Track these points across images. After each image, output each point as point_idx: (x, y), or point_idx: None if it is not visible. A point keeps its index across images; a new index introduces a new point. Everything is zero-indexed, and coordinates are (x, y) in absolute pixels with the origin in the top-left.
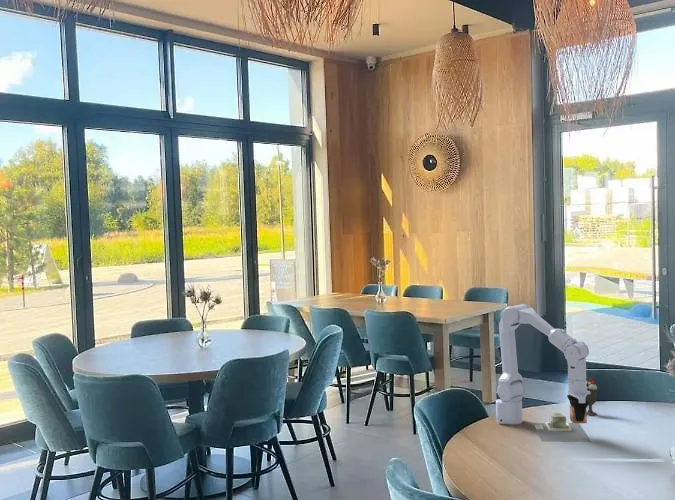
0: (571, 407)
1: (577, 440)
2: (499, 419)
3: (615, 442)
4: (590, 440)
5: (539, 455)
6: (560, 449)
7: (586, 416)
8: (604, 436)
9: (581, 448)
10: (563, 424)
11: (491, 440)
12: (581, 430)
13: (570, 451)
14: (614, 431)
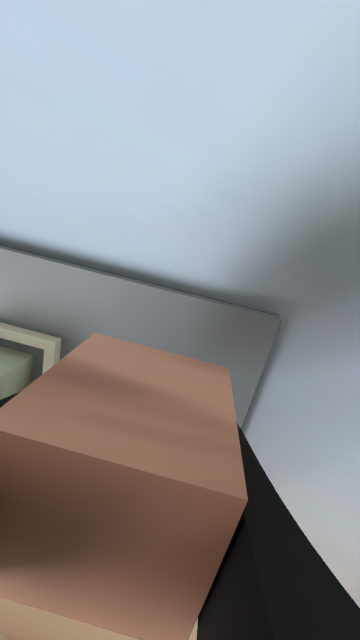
0: (54, 605)
1: (237, 387)
2: None
3: (298, 137)
4: (258, 316)
5: (343, 586)
6: (303, 491)
7: (234, 414)
8: (154, 157)
9: (327, 401)
10: (11, 383)
11: None
12: (59, 280)
13: (348, 467)
14: (52, 7)
